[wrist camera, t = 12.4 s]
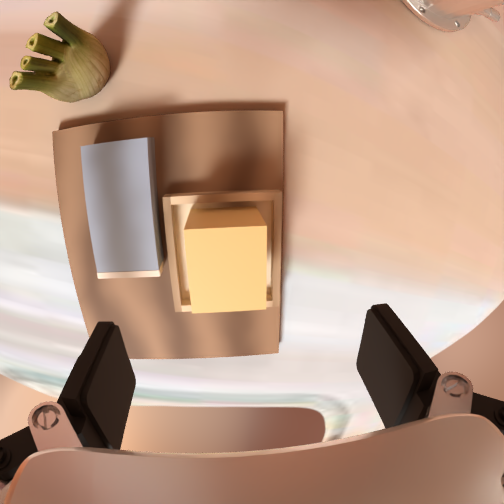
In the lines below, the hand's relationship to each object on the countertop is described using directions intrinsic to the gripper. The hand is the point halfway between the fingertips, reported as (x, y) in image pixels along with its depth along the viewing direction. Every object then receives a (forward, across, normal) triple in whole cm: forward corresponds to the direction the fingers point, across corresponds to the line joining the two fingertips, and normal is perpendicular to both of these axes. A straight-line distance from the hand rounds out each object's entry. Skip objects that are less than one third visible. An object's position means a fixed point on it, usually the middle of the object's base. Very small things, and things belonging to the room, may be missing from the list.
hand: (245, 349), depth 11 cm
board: (+20, +6, +4) cm, 22 cm away
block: (+19, +1, +3) cm, 19 cm away
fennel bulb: (+21, +13, -14) cm, 28 cm away
